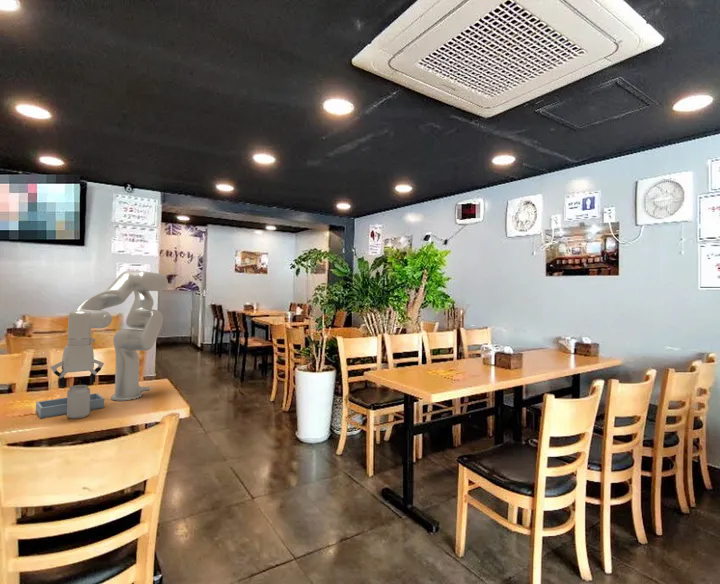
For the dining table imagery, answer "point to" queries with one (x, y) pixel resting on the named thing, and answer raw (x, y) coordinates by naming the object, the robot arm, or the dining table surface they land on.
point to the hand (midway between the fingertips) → (77, 385)
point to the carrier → (64, 406)
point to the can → (78, 401)
